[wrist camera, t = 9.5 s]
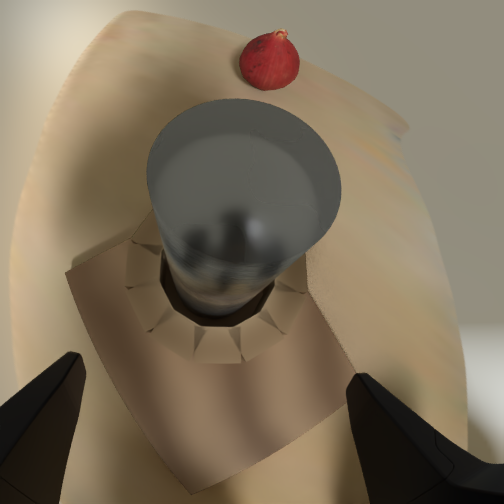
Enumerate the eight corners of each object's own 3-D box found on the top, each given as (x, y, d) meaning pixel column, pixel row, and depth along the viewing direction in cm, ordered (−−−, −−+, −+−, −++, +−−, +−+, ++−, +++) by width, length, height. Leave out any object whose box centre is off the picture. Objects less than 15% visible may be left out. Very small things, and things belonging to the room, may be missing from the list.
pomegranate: (239, 106, 26) (255, 40, 19) (230, 72, 28) (243, 13, 20) (294, 107, 28) (320, 48, 20) (280, 74, 29) (300, 20, 22)
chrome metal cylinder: (213, 335, 18) (250, 311, 6) (160, 278, 18) (108, 159, 6) (266, 283, 20) (371, 182, 8) (214, 231, 20) (247, 79, 8)
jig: (190, 487, 15) (191, 516, 11) (71, 276, 18) (46, 260, 14) (356, 386, 20) (387, 391, 16) (240, 194, 23) (250, 164, 19)
